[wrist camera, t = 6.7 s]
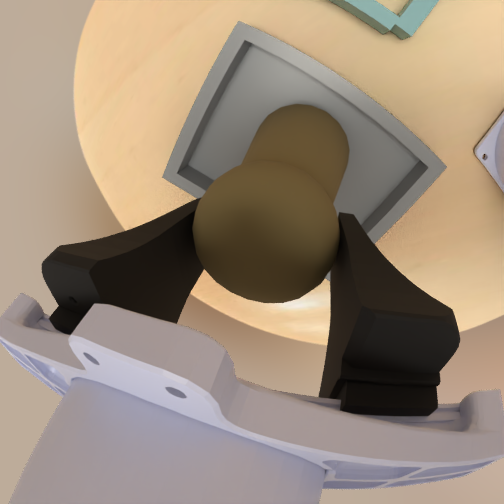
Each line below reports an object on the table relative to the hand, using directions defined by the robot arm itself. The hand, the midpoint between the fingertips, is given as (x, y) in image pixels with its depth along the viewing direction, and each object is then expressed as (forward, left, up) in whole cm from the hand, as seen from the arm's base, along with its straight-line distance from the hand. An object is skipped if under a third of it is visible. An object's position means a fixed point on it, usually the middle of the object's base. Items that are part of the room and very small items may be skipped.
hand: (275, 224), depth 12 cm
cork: (0, -1, -8) cm, 8 cm away
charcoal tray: (0, 0, -10) cm, 10 cm away
